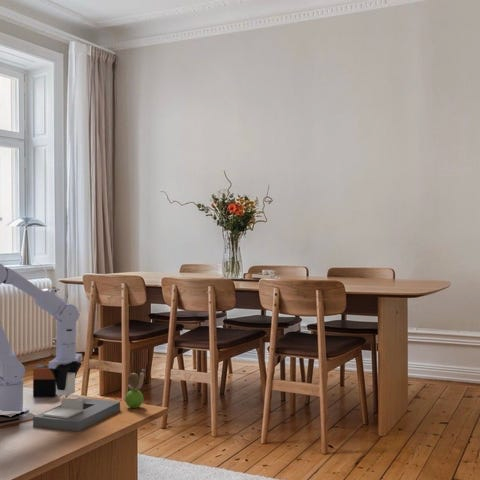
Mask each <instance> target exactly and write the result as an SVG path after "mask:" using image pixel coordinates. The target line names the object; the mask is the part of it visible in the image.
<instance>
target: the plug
mask: <svg viewBox="0 0 480 480" xmlns="http://www.w3.org/2000/svg"><path fill="white" fill-rule="evenodd" d="M75 393H76V378H75V373H71V372H68V373H67V377H66V386H65V390H58V389H57V385H56V395H58V397H59V398H61V397H62V396H64V398H69V396H70V395H72V394H75Z"/></svg>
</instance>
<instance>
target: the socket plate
mask: <svg viewBox="0 0 480 480" xmlns="http://www.w3.org/2000/svg"><path fill="white" fill-rule="evenodd" d="M76 399H79V400H83V409H82V410H83V412H81V413H78V414H76V415H74V416H72V417H70V418H68V419H66V418H57V417H49V416H43V414H44V413H47V412H49V411H51V410H54V409H56V408H58V407H61V404H60V405H58V406H55V407H53V408H51V409H47V410H45V411H44V412H41V413H38V414H35V415H33V417H32V426H33V427H37V428H38V427H39V428H47V429H57V430H61V431H62V430H64V431H72V432H81V430H85V429H86V428H87V427H89V426H92V425H93V424H96V423H98V422H100V421H102V420H103V419H105V418H108V417H109V416H111V415H114V414H116V413H117V412H119V411H121V401H116V400H106V399H105V400H104V399H96V398H87V397H86V398H85V397H77V398H76Z"/></svg>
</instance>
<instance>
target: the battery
mask: <svg viewBox="0 0 480 480" xmlns="http://www.w3.org/2000/svg"><path fill="white" fill-rule="evenodd" d="M32 372H33V373H32V375H33V376H32V381H33V382H32V383H33V385H32V397H34V398H54V397H55V396H56V395H57V394H56V381H55V378H54V375H53V373H52V372H51V370H50V368H49V363H48V364H47V365H43V364H41V363H40V364H37V366H35V367H34V368H33V371H32Z"/></svg>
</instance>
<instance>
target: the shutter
mask: <svg viewBox="0 0 480 480" xmlns="http://www.w3.org/2000/svg"><path fill="white" fill-rule="evenodd" d="M60 403H61V404H60V405H61V407H58V408H56V409H54V410H51V411H49V412H47V413H44V414H43V416H49V417H57V418H66V419H68V418H70V417H72V416H74V415H76V414H78V413H81V412H83V410H82V409H83V400H79V399H77V398H69V397H67V398H65V397H63V398H61V402H60Z"/></svg>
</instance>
